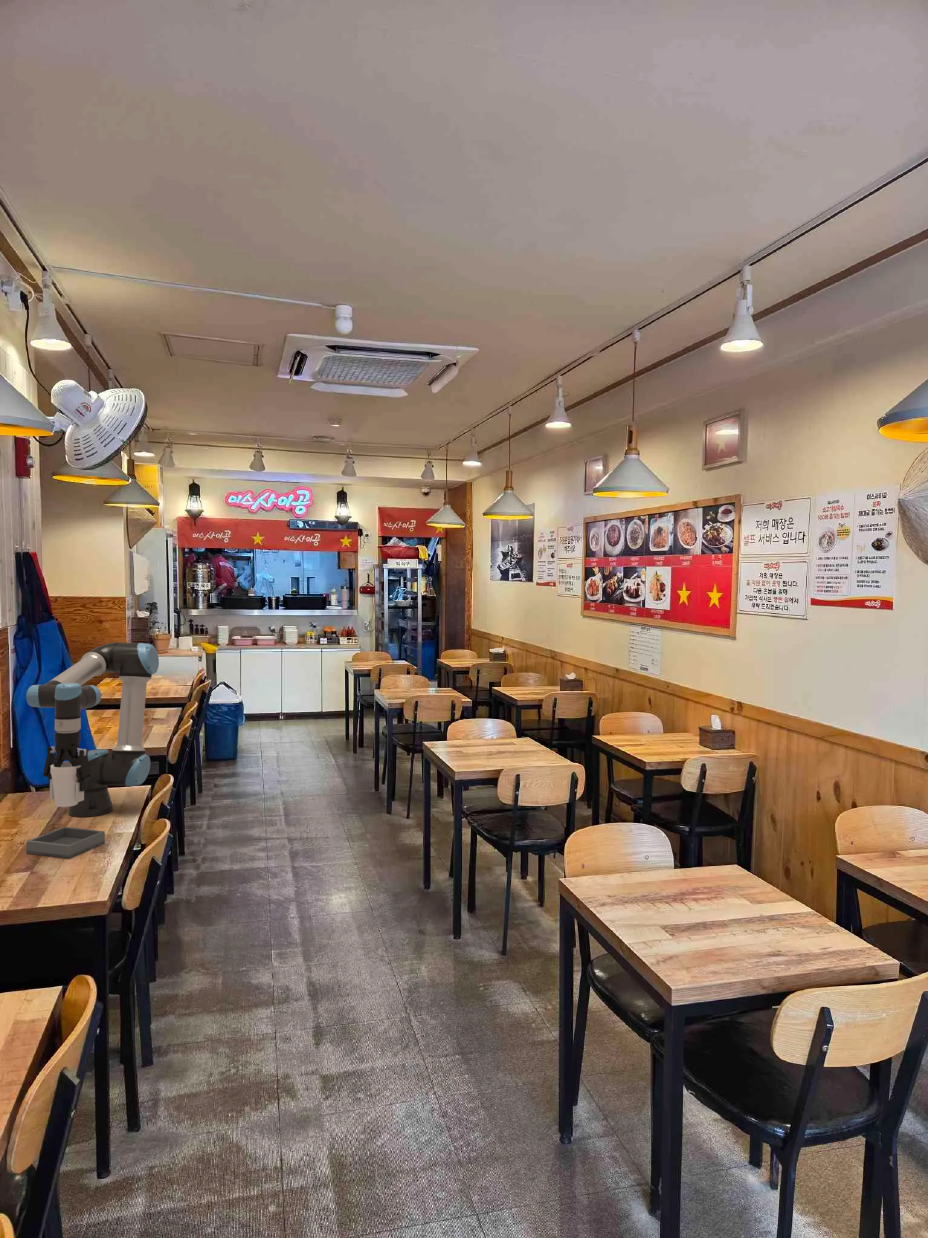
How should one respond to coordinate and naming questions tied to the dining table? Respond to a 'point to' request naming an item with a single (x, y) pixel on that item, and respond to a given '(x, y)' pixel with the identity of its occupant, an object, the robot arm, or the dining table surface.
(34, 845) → the tray
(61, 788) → the foam cup
